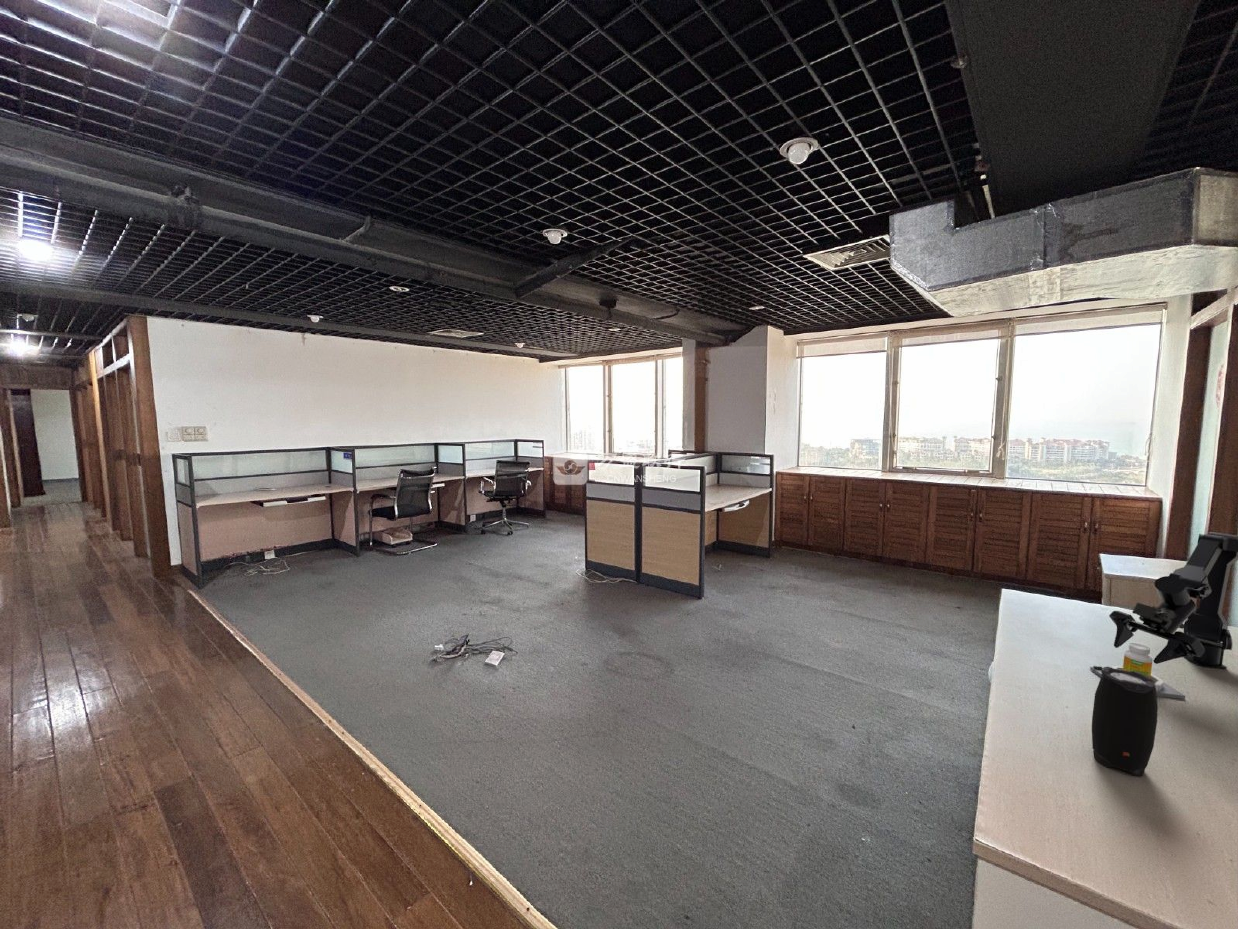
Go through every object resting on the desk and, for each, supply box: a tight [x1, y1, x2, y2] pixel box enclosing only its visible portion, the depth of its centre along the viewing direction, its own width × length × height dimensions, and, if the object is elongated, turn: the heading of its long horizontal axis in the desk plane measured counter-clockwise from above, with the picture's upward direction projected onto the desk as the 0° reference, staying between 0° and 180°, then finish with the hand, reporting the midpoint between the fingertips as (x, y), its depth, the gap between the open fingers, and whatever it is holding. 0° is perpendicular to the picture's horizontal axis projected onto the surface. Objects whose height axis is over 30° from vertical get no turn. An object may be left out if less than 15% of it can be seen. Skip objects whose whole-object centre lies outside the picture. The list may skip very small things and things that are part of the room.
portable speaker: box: [1091, 666, 1159, 777], centre depth 104 cm, size 9×9×20 cm
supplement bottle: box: [1122, 642, 1154, 677], centre depth 138 cm, size 5×5×10 cm
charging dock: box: [1089, 665, 1186, 700], centre depth 138 cm, size 14×12×2 cm
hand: (1134, 654), depth 137 cm, fingers open, 9 cm apart
